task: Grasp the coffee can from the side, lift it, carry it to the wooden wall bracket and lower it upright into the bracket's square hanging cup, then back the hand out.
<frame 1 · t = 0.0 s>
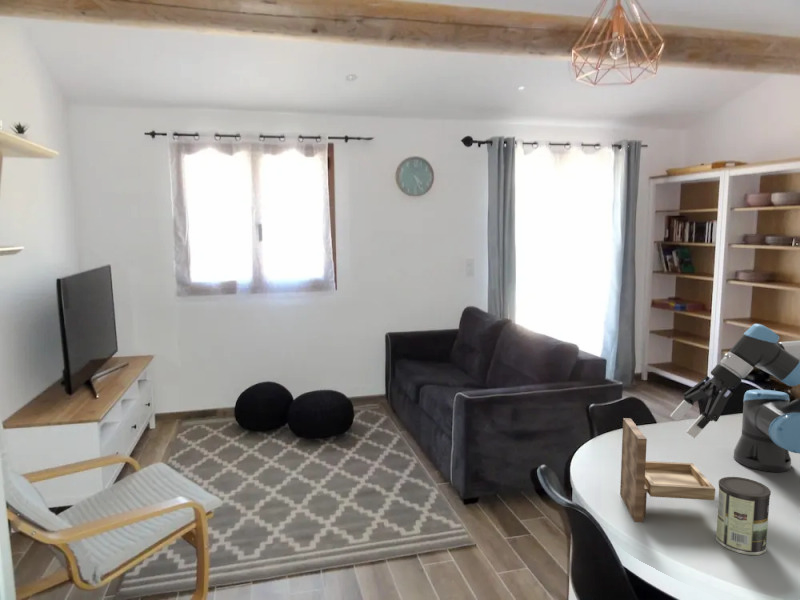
hand: (681, 426, 162), 15 cm above the table, tool tilted 35°, fingers open, 13 cm apart
coffee can: (740, 543, 129), on the table
geometric puzzle: (734, 512, 143), on the table
bracket: (670, 509, 145), on the table
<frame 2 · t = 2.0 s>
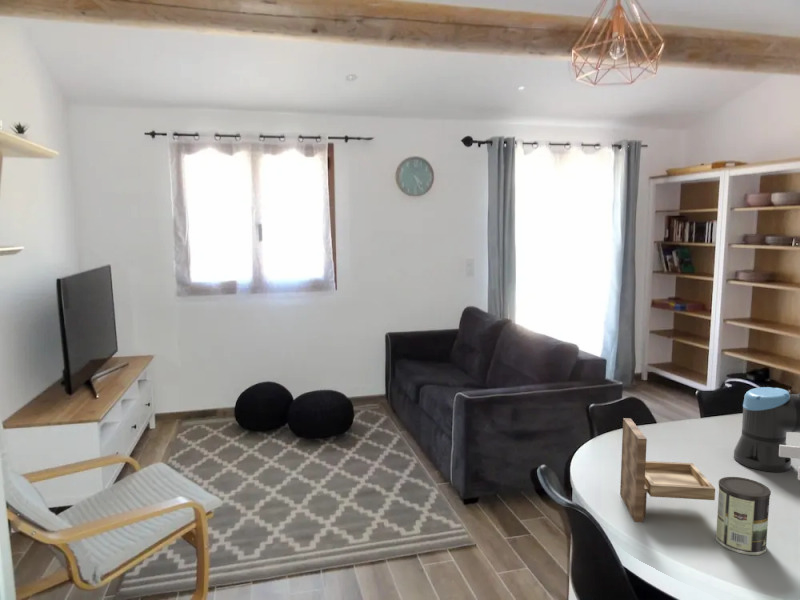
hand: (788, 461, 124), 21 cm above the table, tool horizontal, fingers open, 13 cm apart
nothing on the table moved.
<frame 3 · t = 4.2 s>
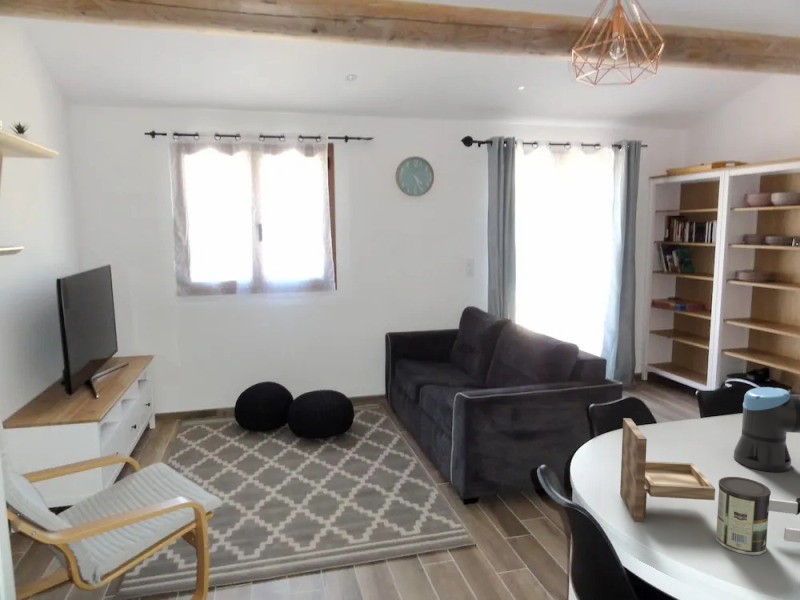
hand: (774, 518, 126), 7 cm above the table, tool horizontal, fingers open, 13 cm apart
nothing on the table moved.
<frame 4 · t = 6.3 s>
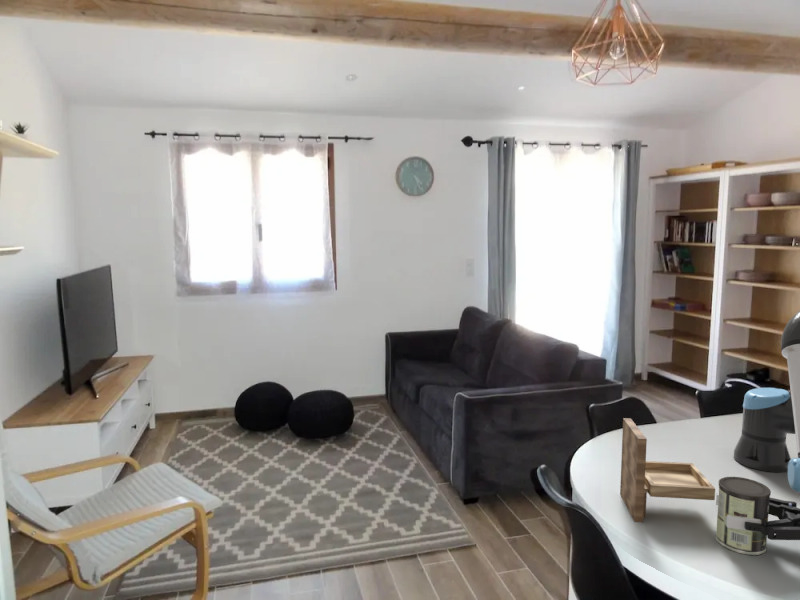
hand: (721, 509, 130), 8 cm above the table, tool horizontal, fingers closed on coffee can, 10 cm apart
coffee can: (740, 543, 129), on the table, touching gripper
everything else where it was.
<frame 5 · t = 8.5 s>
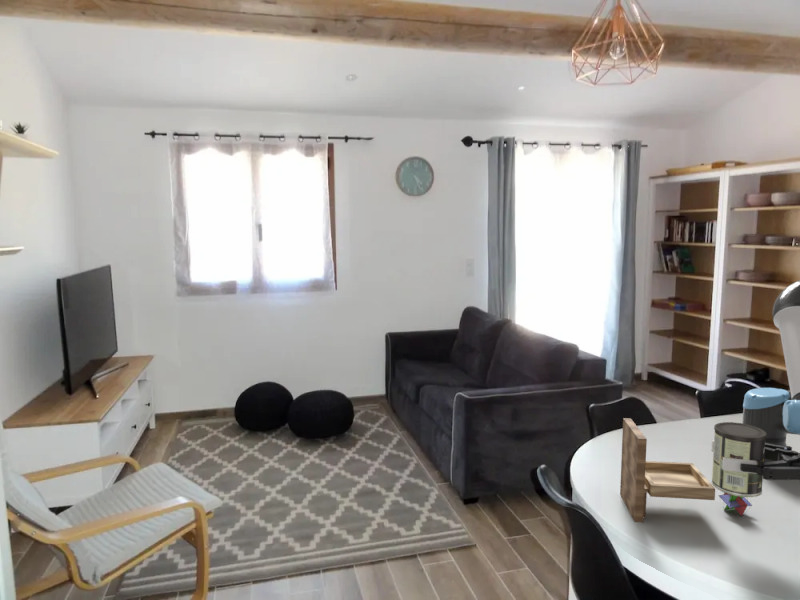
hand: (717, 454, 129), 21 cm above the table, tool horizontal, fingers closed on coffee can, 10 cm apart
coffee can: (735, 487, 129), point 13 cm above the table, touching gripper
everything else where it was.
when the fingers open (17 cm above the table, at t = 10.7 s): coffee can drops 1 cm, resting on bracket.
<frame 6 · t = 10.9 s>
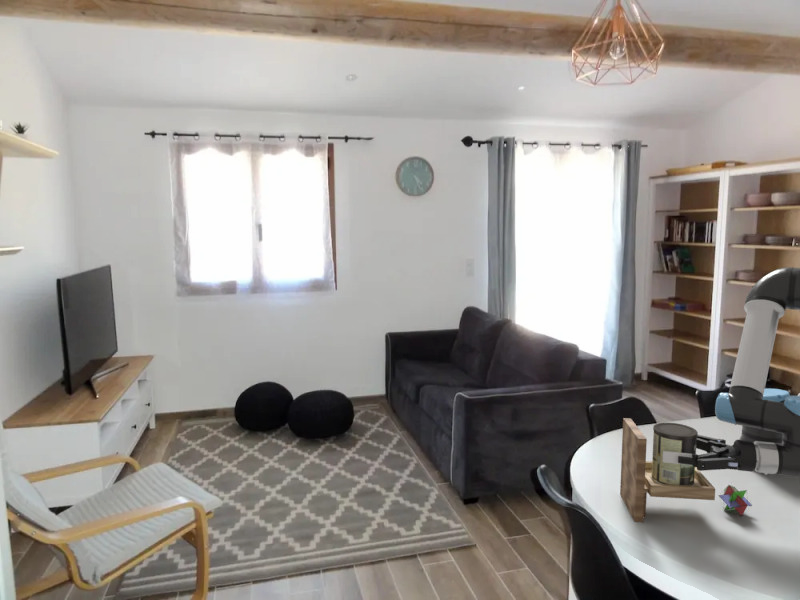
hand: (659, 446, 144), 17 cm above the table, tool horizontal, fingers open, 12 cm apart
coffee can: (672, 481, 144), point 8 cm above the table, touching bracket
everything else where it was.
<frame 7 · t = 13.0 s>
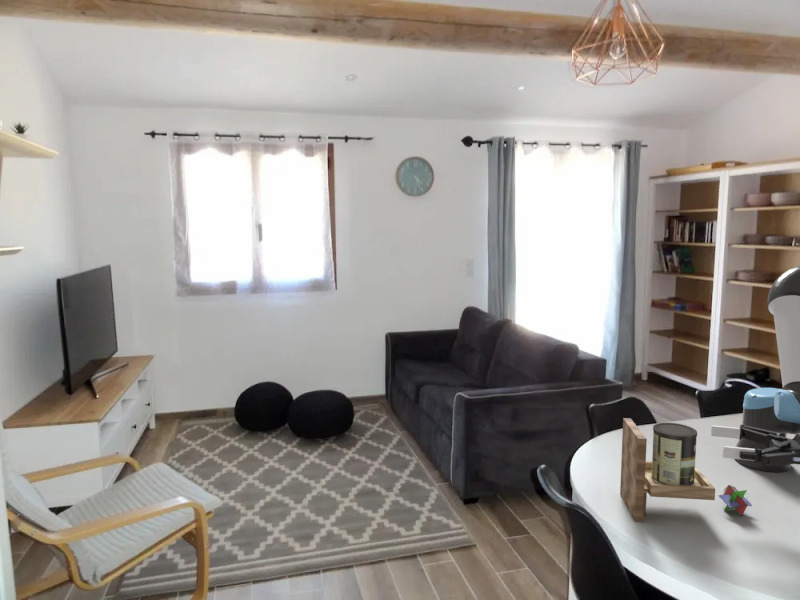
hand: (716, 440, 139), 20 cm above the table, tool horizontal, fingers open, 13 cm apart
nothing on the table moved.
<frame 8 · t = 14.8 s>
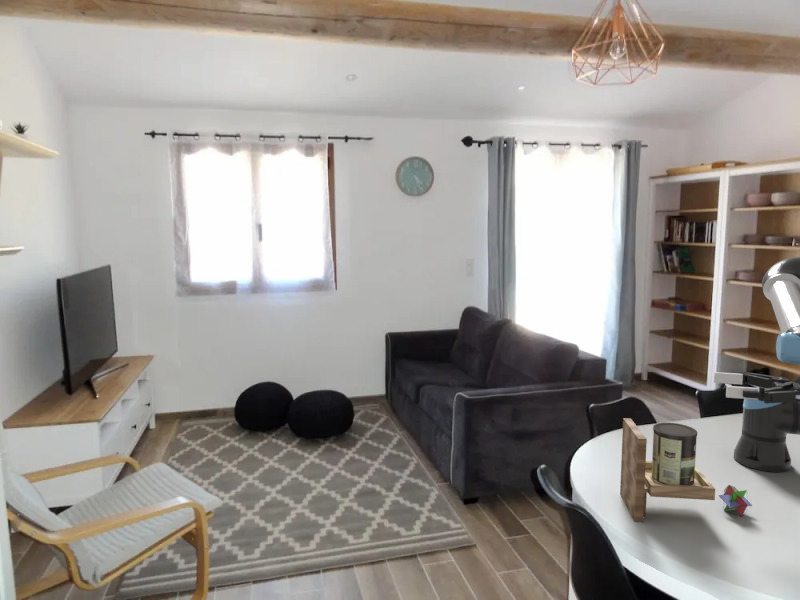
hand: (719, 384, 140), 34 cm above the table, tool horizontal, fingers open, 13 cm apart
nothing on the table moved.
at the end: coffee can inside the target area on the bracket (0.2 cm from its centre), point 7.8 cm above the bracket's base; coffee can tilted 0°; the gripper is holding nothing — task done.
